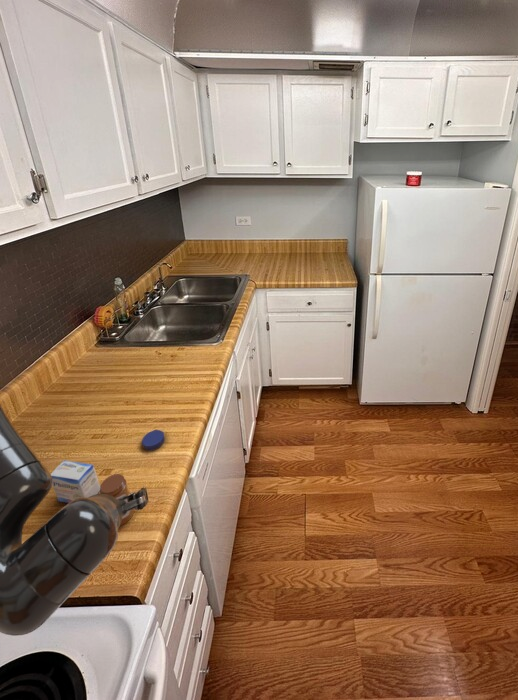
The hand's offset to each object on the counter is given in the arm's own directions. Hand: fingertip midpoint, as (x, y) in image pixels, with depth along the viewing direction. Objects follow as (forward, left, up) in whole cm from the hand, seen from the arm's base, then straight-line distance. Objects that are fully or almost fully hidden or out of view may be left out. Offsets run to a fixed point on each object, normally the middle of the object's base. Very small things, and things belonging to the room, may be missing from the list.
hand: (105, 511), depth 60 cm
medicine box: (-8, +22, -17) cm, 29 cm away
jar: (0, +12, -17) cm, 20 cm away
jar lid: (+9, +30, -15) cm, 35 cm away
